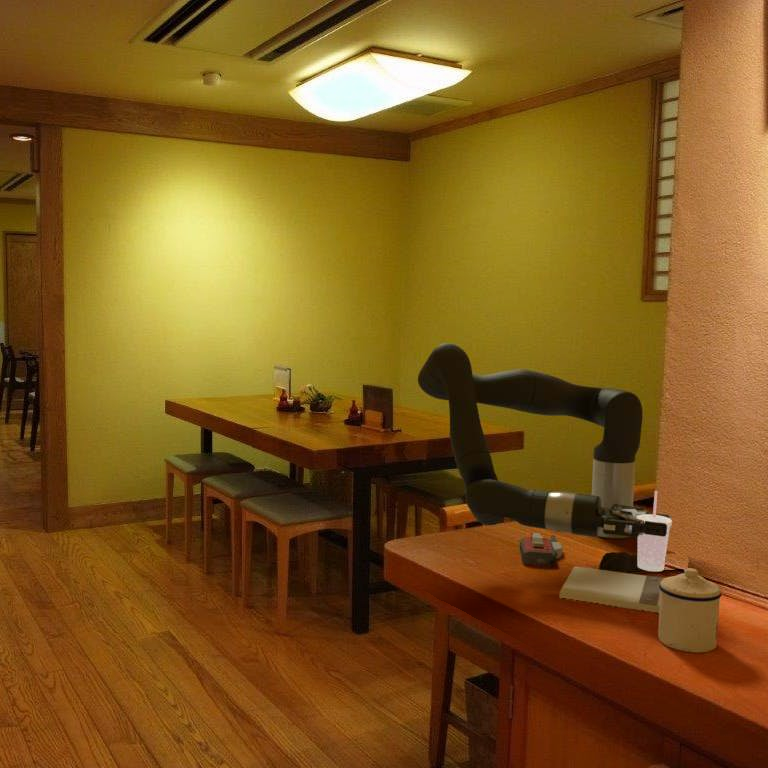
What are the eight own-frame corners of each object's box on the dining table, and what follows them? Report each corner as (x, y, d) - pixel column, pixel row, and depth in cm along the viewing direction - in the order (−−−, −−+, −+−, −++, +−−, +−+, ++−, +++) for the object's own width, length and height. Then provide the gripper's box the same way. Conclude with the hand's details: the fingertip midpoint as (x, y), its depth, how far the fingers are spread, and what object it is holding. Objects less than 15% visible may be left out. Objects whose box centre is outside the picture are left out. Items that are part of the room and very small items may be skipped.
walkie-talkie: (566, 570, 166) (557, 542, 186) (567, 549, 166) (558, 523, 185) (521, 568, 167) (517, 540, 187) (522, 546, 167) (518, 520, 186)
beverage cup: (656, 575, 146) (662, 496, 145) (626, 566, 151) (631, 489, 149) (675, 568, 150) (680, 492, 149) (644, 559, 155) (650, 485, 153)
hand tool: (678, 567, 169) (679, 545, 169) (690, 573, 165) (691, 550, 165) (592, 572, 165) (593, 549, 165) (602, 579, 161) (603, 555, 161)
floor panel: (574, 572, 164) (574, 564, 164) (705, 590, 155) (705, 582, 155) (559, 598, 149) (559, 590, 149) (703, 619, 140) (704, 611, 140)
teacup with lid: (730, 652, 127) (735, 577, 126) (676, 656, 125) (680, 580, 124) (686, 622, 139) (690, 554, 138) (636, 625, 137) (640, 556, 136)
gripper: (567, 501, 148) (667, 513, 142) (580, 486, 161) (672, 496, 155) (564, 543, 149) (663, 557, 142) (578, 524, 162) (669, 536, 156)
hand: (667, 525), depth 149 cm, fingers closed on beverage cup, 6 cm apart
